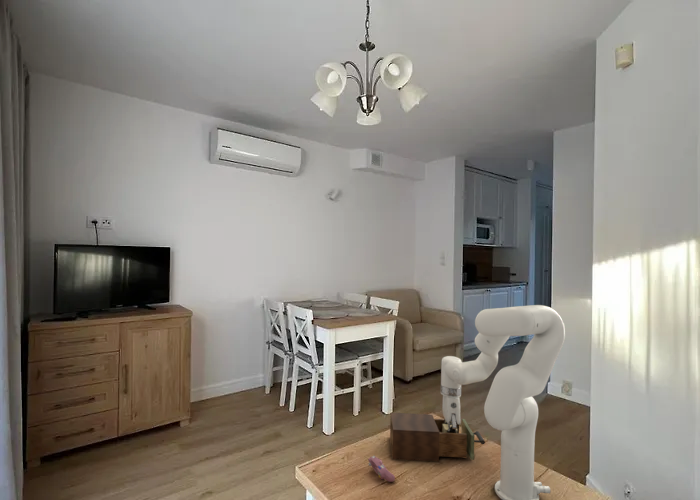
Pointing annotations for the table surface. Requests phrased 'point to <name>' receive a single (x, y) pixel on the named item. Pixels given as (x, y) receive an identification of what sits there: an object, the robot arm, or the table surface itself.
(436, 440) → the cabinet
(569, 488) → the table surface
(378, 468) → the pink rounded piece
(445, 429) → the block
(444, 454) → the drawer
